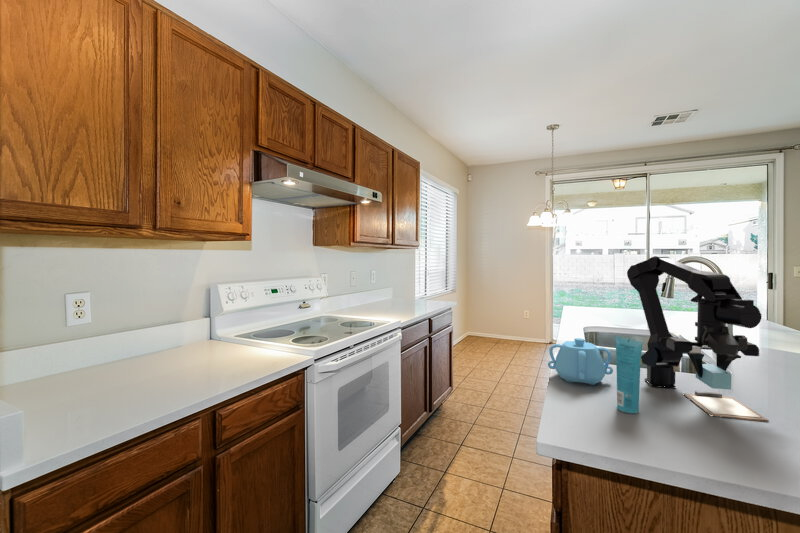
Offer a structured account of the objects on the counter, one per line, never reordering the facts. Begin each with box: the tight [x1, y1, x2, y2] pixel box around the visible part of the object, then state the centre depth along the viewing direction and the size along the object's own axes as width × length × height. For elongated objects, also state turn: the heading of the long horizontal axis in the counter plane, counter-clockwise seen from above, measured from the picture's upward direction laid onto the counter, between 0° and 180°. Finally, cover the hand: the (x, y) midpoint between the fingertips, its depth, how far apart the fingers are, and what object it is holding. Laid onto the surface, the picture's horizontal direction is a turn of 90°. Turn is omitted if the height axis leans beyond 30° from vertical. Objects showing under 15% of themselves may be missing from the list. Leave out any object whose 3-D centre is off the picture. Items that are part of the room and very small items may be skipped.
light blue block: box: [695, 363, 732, 391], centre depth 98 cm, size 10×4×4 cm, turn 164°
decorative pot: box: [547, 337, 614, 386], centre depth 121 cm, size 16×16×14 cm
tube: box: [614, 335, 644, 414], centre depth 97 cm, size 7×5×19 cm, turn 29°
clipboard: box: [682, 390, 770, 422], centre depth 98 cm, size 12×15×1 cm
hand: (709, 377), depth 99 cm, fingers closed on light blue block, 4 cm apart
